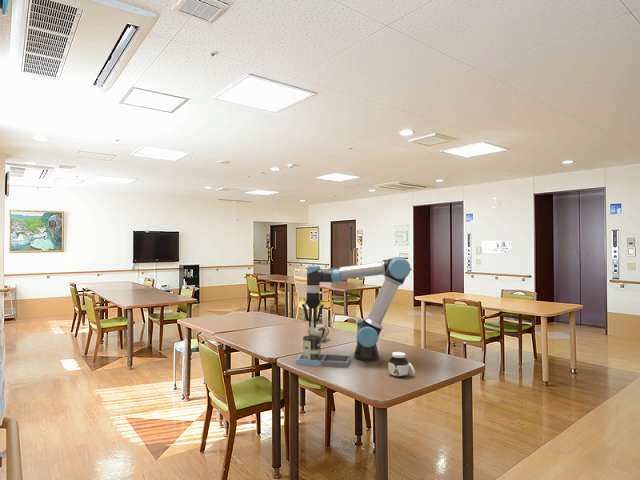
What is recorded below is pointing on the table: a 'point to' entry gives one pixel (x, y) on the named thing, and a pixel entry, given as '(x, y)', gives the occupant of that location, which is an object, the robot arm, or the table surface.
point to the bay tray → (326, 363)
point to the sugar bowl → (320, 331)
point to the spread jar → (400, 366)
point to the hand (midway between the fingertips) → (312, 333)
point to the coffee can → (311, 347)
